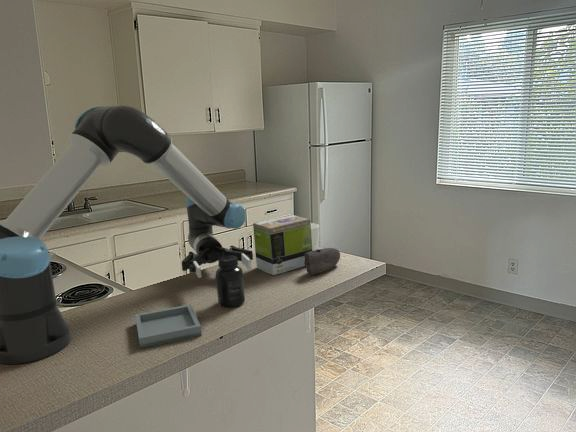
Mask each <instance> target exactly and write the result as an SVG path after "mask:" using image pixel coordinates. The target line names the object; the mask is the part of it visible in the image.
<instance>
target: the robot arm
mask: <svg viewBox="0 0 576 432" xmlns="http://www.w3.org/2000/svg"><path fill="white" fill-rule="evenodd" d="M69 142H70V145H69V146H68V147H67V148H66V149H65V151H64V152H63V153H62V154H61V155H60V157H59V158H58V159H57V160H56V161H55V162H54V163H53V165H52V166H51V167H50V168H49V169H48V170H47V172H46V173H45V174H44V175H43V176H42V177H41V178H40V180H39V181H38V182H37V183H36V184H35V185H34V186H33V188H32V189H30V191H29V192H28V193H27V194H26V196H25V197H24V198H23V199H22V200H21V201H20V203H19V204H18V205H17V206H16V207H15V208H14V209H13V210H12V212H10V214H9V216H8V217H7V218H6V219H2V220H0V364H5V365H18V364H19V365H21V364H26V363H31V362H35V361H37V360H41V359H44V358H47V357H49V356H52V355H53V354H56V353H58V352H60V351H61V350H63V349H64V348H65V347H67V346H68V344H69V343H70V342H71V341H72V340H71V339H72V332H71V329H70V326H69V324H68V322H67V320H66V319H65V317H64V315H63V314H62V312H61V310H60V308H59V307H58V304H57V297H56V292H55V291H56V289H55V284H54V279H53V272H52V266H51V256H50V254H49V251H48V247H47V244H46V243H45V242H44V241H43V240H42V239H43V237H44V235H45V234H46V233H47V232H48V230H49V229H50V228H51V227H52V226H53V225H54V223H55V222H56V220H57V219H58V218H59V217H60V215H62V213H64V211H65V210H66V209H67V208H68V206H69V205H70V203H71V202H72V201H73V200H74V198H75V197H76V196H77V195H78V193H80V192H81V190H82V189H83V187H84V186H85V185H86V184H87V183H88V181H89V180H90V179H91V177H93V175H94V174H95V173H96V171H98V169H99V168H100V167H103V166H104V167H106V166H109V165H110V164H111V163H112V162H113V160H114V159H115V158H116V157H117V155H118V154H119V153H128V154H130V155H133V156H135V157H137V158H138V159H140V161H142V162H143V163H144V164H147V165H150V164H151V165H152V166H153V167H154V168H155V169H156V170H158V171H159V172H160V173H161V174H162V175H164V177H166V179H167V180H169V181H170V182H171V183H172V184H173V185H174V186H176V187H177V188H178V189H179V190H180V192H182V193H183V194H184V195H185V196H186V212H187V213H186V214H187V221H188V235H187V239H188V240H187V241H188V244H189V245H190V247H191V248H192V250H193V251H194V252H193V251H189V252H188V255H186V257H184V259H183V260H182V261H181V269H182V271H183V272H186V271H187V270H189V273H190V274H193V273H195V275H196V276H197V278H198V279H201V278H202V269H201V266H202V265H203V264H204V265H206V264H215V263H216V262H218V259H219V258H220V257H223V256H236V257H237V259H238V262H241V264H242V265H243V266H245V268H246V269H247V270H249V271H250V270H251V269H252V262H251V261H253V260H254V255H253V251H252V250H249V249H247V248H246V249H245V248H241V247H237V246H235V245H230V246H229V248H226V247H223V245H222V244H221V243H220V241H219V240H218V239H217V238H216V237H215V236H214V231H213V226H215V227H220V228H225V229H229V230H230V229H231V230H232V229H233V230H235V229H236V230H237V229H240V228H241V227H242V226H243V225H244V224H245V222H246V220H247V212H246V209H245V207H244V206H243V205H241V204H238V203H234V202H231V201H230V199H228V198H227V197H226V196H225V195H224V194H223V193H222V192H221V191H220V190H219V189H218V188H217V187H216V186H215V185H214V184H213V183H212V182H211V181H210V180H209V179H208V178H207V177H206V176H205V175H204V174H203V173H202V172H201V171H200V170H199V169H198V168H197V166H195V165H194V164H193V163H192V162H191V161H190V160H189V159H188V158H187V157H186V156H185V154H183V152H181V150H179V149H178V148H177V147H176V146H175V144H173V138H172V136H171V135H170V134H169V133H168V132H167V131H166V130H165V129H164V128H163V127H162V126H161V125H160V124H159V123H158V122H156V121H155V120H154V119H153V118H151V117H150V116H149V115H148V114H146V113H145V112H143V111H142V110H140V109H138V108H137V107H134V106H130V105H112V106H104V105H103V106H94V107H91V108H89V109H86V110H84V111H83V112H82V113H81V114H79V116H78V117H77V118H76V121H75V123H74V131H72V133H71V134H70V135H69Z"/></svg>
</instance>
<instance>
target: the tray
mask: <svg viewBox="0 0 576 432" xmlns="http://www.w3.org/2000/svg"><path fill="white" fill-rule="evenodd" d="M134 316H135V324H136V331H137V338H138V343H139V348H140V349H145V348H149V347H155V346H158V345H163V344H169V343H175V342H177V341H182V340H187V339H192V338H196V337H197V338H198V337H201V336H203V335H202V325H201V324H200V321H199V320H198V317H197V315H196V313H195V310H194V308H193V306H192V304H185V305H180V306H176V307H169V308H163V309H159V310H153V311H147V312H142V313H137V314H134Z"/></svg>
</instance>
